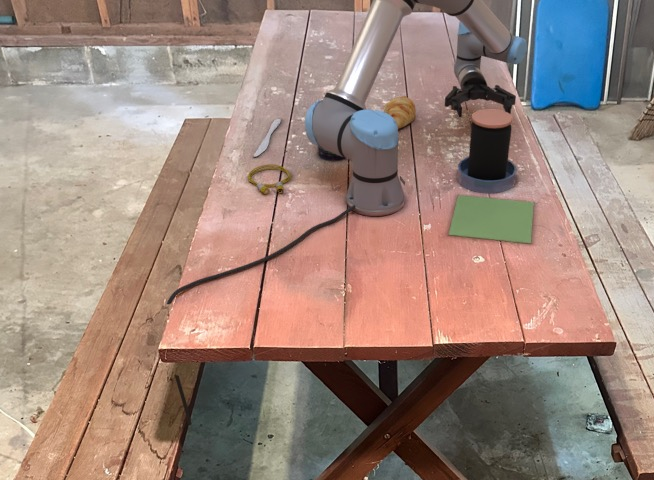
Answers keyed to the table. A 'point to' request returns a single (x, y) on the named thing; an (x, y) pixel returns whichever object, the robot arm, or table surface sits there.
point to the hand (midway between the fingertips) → (485, 112)
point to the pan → (486, 185)
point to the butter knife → (267, 138)
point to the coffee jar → (489, 144)
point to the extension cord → (264, 188)
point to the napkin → (492, 219)
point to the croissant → (401, 110)
